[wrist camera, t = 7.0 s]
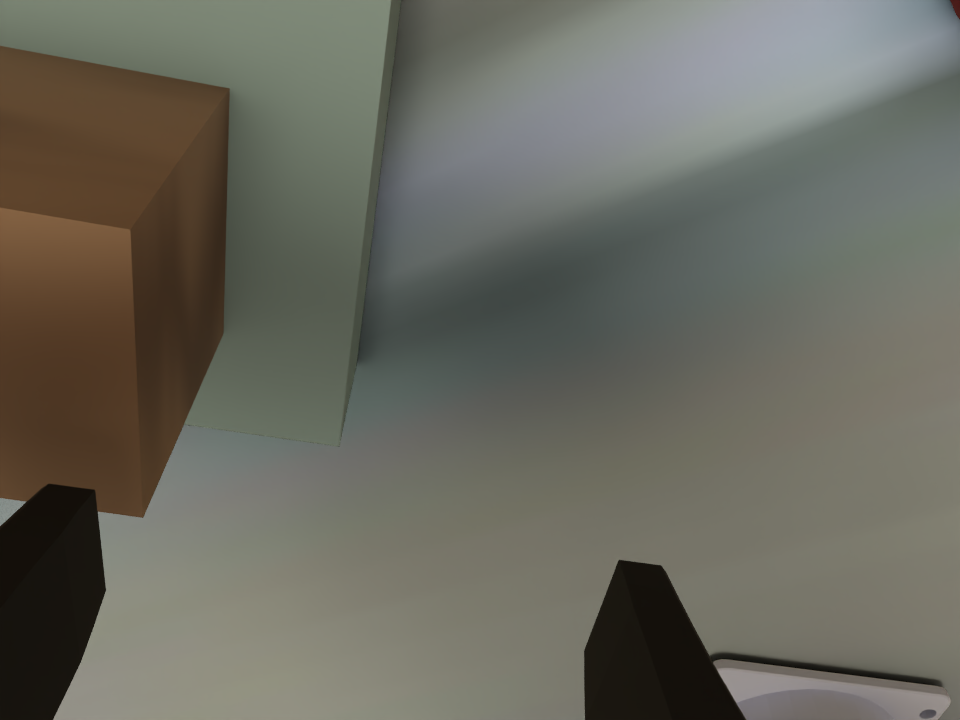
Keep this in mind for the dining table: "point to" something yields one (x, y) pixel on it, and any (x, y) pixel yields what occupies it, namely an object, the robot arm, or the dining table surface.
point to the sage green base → (266, 179)
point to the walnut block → (105, 271)
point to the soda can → (956, 7)
